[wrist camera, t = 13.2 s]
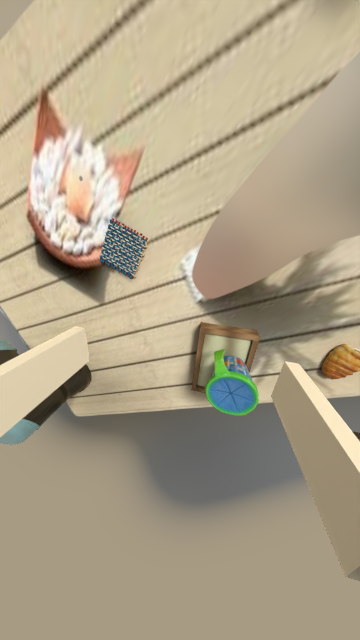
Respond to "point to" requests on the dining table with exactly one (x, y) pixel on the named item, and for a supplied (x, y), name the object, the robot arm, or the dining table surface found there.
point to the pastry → (341, 362)
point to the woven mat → (123, 248)
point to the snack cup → (231, 386)
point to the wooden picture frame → (220, 338)
